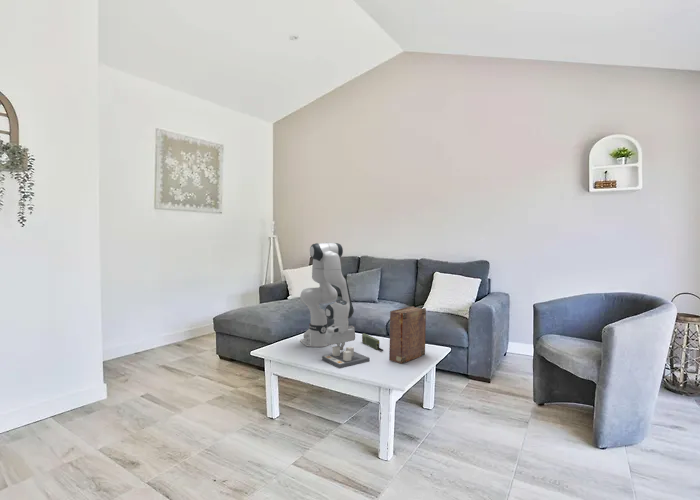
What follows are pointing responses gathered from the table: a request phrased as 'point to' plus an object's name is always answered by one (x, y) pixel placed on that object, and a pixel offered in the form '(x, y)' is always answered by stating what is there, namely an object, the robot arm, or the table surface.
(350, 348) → the tab middle
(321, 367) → the table surface
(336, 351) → the tab inner
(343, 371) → the table surface
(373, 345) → the handheld radio
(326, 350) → the table surface
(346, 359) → the block
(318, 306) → the robot arm
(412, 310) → the book
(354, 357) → the switch panel
